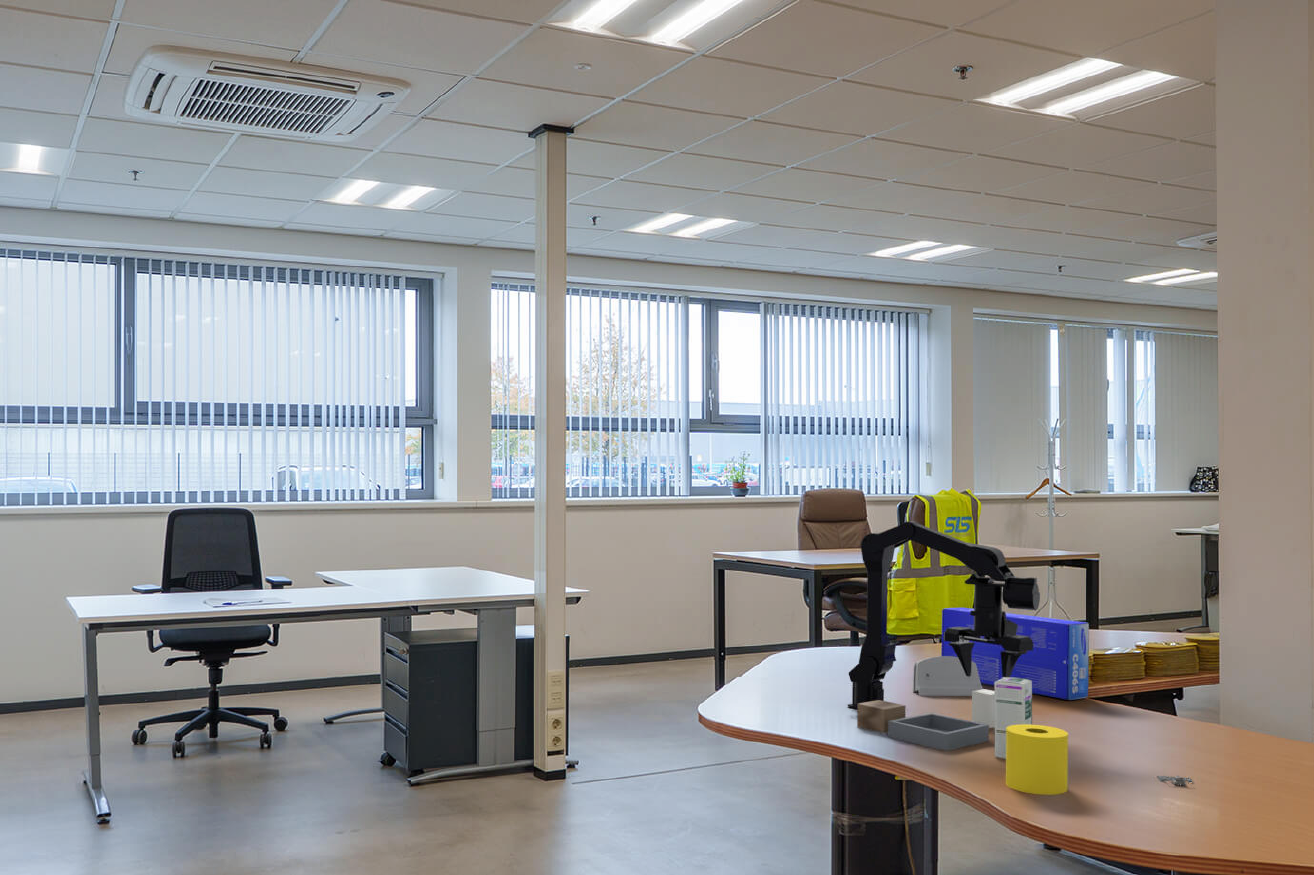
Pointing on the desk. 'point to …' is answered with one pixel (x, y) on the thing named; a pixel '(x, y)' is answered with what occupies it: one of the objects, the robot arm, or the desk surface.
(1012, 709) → the syrup box
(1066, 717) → the desk surface
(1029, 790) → the yellow paper roll
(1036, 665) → the toner cartridge box
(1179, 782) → the grey flat piece
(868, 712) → the oversize block
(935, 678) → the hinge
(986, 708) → the small block
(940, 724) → the sorting tray
